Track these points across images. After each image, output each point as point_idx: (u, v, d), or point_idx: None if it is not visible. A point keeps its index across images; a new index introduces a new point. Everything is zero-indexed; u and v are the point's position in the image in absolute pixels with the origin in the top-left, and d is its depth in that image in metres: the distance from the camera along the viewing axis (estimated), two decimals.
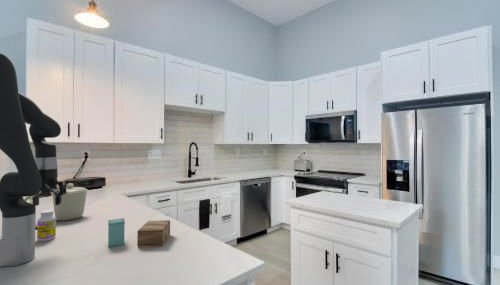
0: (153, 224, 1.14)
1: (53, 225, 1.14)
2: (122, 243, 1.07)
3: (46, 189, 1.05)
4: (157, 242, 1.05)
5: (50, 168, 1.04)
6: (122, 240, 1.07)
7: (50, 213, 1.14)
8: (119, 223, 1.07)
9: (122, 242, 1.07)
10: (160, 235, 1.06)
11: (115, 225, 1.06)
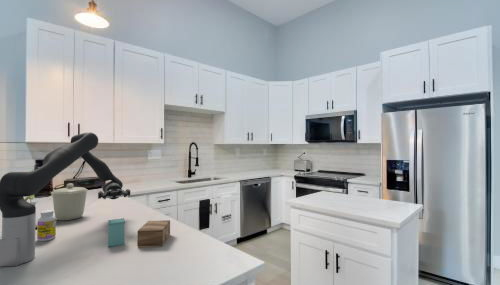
0: (153, 224, 1.14)
1: (53, 225, 1.14)
2: (122, 243, 1.07)
3: (115, 191, 1.25)
4: (157, 242, 1.05)
5: (120, 186, 1.34)
6: (122, 240, 1.07)
7: (50, 213, 1.14)
8: (119, 223, 1.07)
9: (122, 242, 1.07)
10: (160, 235, 1.06)
11: (115, 225, 1.06)
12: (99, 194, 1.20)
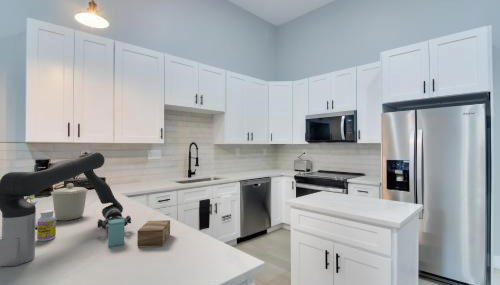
0: (153, 224, 1.14)
1: (53, 225, 1.14)
2: (122, 243, 1.07)
3: None
4: (157, 242, 1.05)
5: (120, 212, 1.31)
6: (122, 240, 1.07)
7: (50, 213, 1.14)
8: (119, 223, 1.07)
9: (122, 242, 1.07)
10: (160, 235, 1.06)
11: (115, 225, 1.06)
12: (99, 223, 1.16)
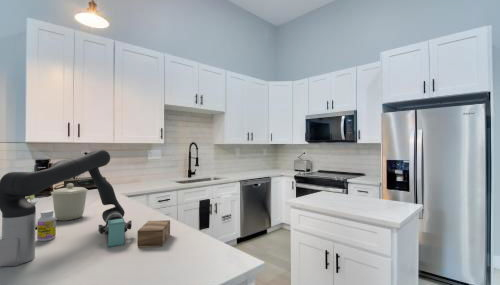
0: (153, 224, 1.14)
1: (53, 225, 1.14)
2: (122, 243, 1.07)
3: None
4: (157, 242, 1.05)
5: (121, 216, 1.23)
6: (122, 240, 1.07)
7: (50, 213, 1.14)
8: (119, 223, 1.07)
9: (122, 242, 1.07)
10: (160, 235, 1.06)
11: (115, 225, 1.06)
12: (101, 229, 1.08)
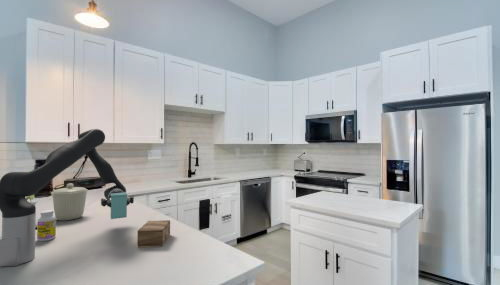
0: (153, 224, 1.14)
1: (53, 225, 1.14)
2: (124, 216, 1.08)
3: None
4: (157, 242, 1.05)
5: None
6: (124, 213, 1.08)
7: (50, 213, 1.14)
8: (121, 196, 1.07)
9: (124, 215, 1.08)
10: (160, 235, 1.06)
11: (117, 197, 1.07)
12: (104, 201, 1.08)
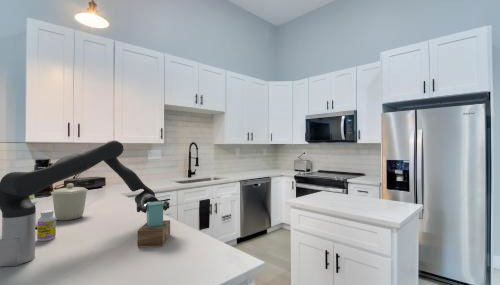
0: None
1: (53, 225, 1.14)
2: (161, 224, 1.11)
3: None
4: (157, 242, 1.05)
5: None
6: (161, 221, 1.11)
7: (50, 213, 1.14)
8: (158, 205, 1.10)
9: (161, 223, 1.11)
10: (160, 235, 1.06)
11: (155, 207, 1.10)
12: (138, 207, 1.11)
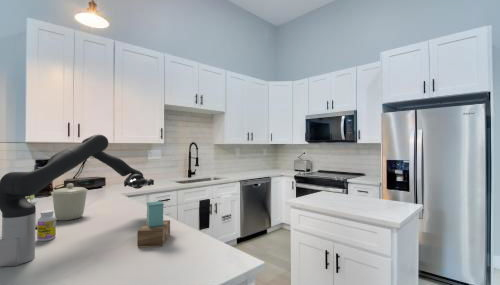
0: None
1: (53, 225, 1.14)
2: (161, 224, 1.11)
3: (140, 180, 1.30)
4: (157, 242, 1.05)
5: None
6: (161, 221, 1.11)
7: (50, 213, 1.14)
8: (158, 205, 1.10)
9: (161, 223, 1.11)
10: (160, 235, 1.06)
11: (155, 207, 1.10)
12: (125, 182, 1.25)
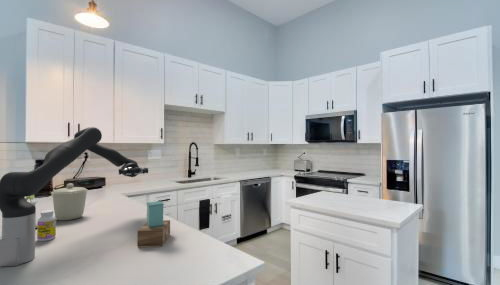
0: None
1: (53, 225, 1.14)
2: (161, 224, 1.11)
3: (134, 168, 1.32)
4: (157, 242, 1.05)
5: None
6: (161, 221, 1.11)
7: (50, 213, 1.14)
8: (158, 205, 1.10)
9: (161, 223, 1.11)
10: (160, 235, 1.06)
11: (155, 207, 1.10)
12: (120, 170, 1.26)
